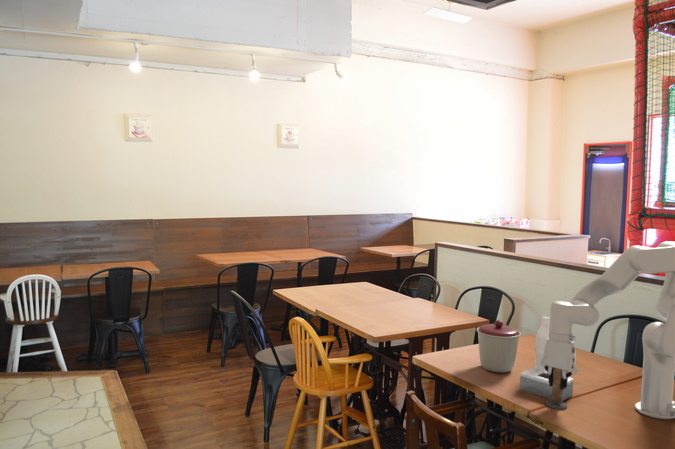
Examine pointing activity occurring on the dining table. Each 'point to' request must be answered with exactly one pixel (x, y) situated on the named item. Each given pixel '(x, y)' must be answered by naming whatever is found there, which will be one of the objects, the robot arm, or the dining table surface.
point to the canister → (498, 346)
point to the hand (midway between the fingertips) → (557, 386)
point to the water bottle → (541, 342)
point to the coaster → (556, 405)
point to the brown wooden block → (557, 385)
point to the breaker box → (542, 384)
